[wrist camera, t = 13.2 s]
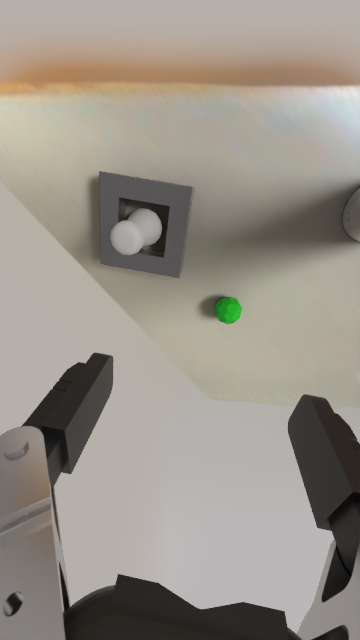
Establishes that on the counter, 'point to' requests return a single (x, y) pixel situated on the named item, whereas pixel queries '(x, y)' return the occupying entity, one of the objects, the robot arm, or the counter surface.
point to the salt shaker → (136, 232)
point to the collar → (151, 191)
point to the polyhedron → (228, 310)
